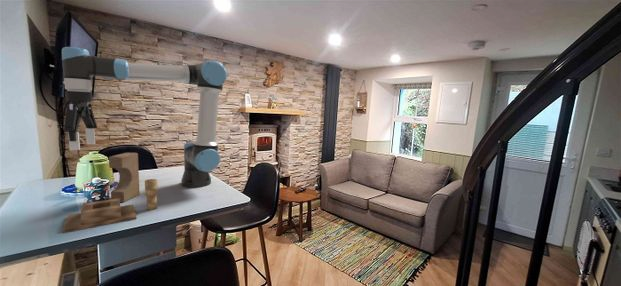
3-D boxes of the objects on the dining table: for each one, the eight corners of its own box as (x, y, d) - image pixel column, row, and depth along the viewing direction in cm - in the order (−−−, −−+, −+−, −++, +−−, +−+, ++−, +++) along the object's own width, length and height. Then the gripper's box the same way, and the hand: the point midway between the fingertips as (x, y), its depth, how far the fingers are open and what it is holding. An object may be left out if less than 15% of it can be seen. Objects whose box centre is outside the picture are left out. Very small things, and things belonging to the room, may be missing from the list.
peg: (157, 205, 109) (156, 178, 107) (159, 209, 106) (158, 181, 104) (145, 207, 106) (144, 179, 105) (146, 211, 103) (145, 182, 101)
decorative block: (123, 202, 110) (120, 157, 108) (110, 202, 110) (107, 156, 108) (140, 194, 121) (138, 152, 119) (128, 193, 121) (126, 152, 119)
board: (133, 206, 107) (133, 195, 106) (136, 218, 96) (135, 206, 95) (68, 217, 95) (67, 204, 94) (62, 232, 84) (61, 218, 83)
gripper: (81, 91, 106) (85, 142, 109) (46, 88, 83) (52, 153, 86) (103, 92, 109) (107, 142, 112) (75, 90, 86) (80, 152, 89)
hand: (83, 147), depth 99 cm, fingers open, 13 cm apart
